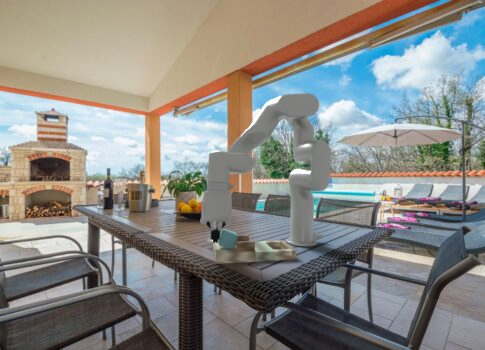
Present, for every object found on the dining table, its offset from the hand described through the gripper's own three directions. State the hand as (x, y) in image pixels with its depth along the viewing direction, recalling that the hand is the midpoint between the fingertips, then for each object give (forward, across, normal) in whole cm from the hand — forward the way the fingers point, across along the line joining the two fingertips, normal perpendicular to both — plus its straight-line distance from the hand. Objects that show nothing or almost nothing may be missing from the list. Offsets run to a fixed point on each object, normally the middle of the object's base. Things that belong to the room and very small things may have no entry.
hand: (214, 241), depth 83 cm
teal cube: (+1, -4, 0) cm, 4 cm away
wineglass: (+5, -2, -21) cm, 22 cm away
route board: (+5, -14, 0) cm, 14 cm away
